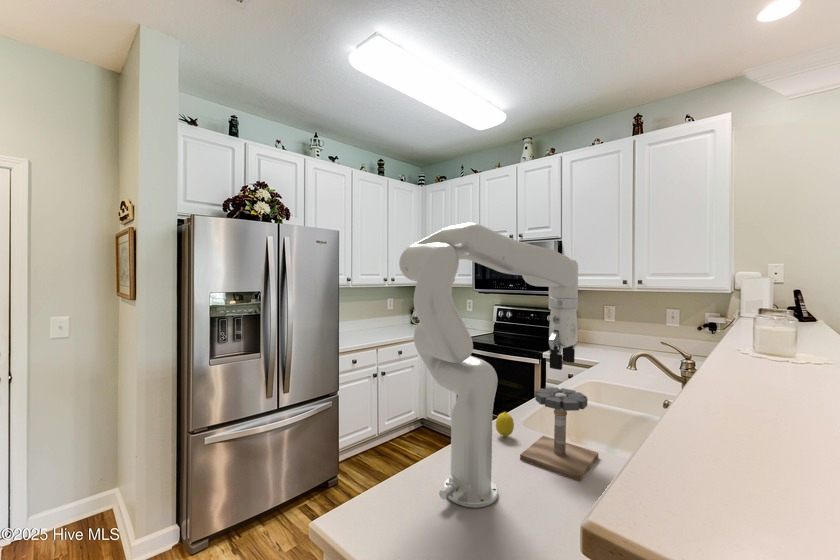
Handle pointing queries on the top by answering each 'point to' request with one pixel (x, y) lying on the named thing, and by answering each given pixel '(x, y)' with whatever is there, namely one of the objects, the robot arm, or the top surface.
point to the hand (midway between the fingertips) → (562, 365)
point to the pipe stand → (560, 451)
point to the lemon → (504, 424)
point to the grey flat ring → (561, 399)
